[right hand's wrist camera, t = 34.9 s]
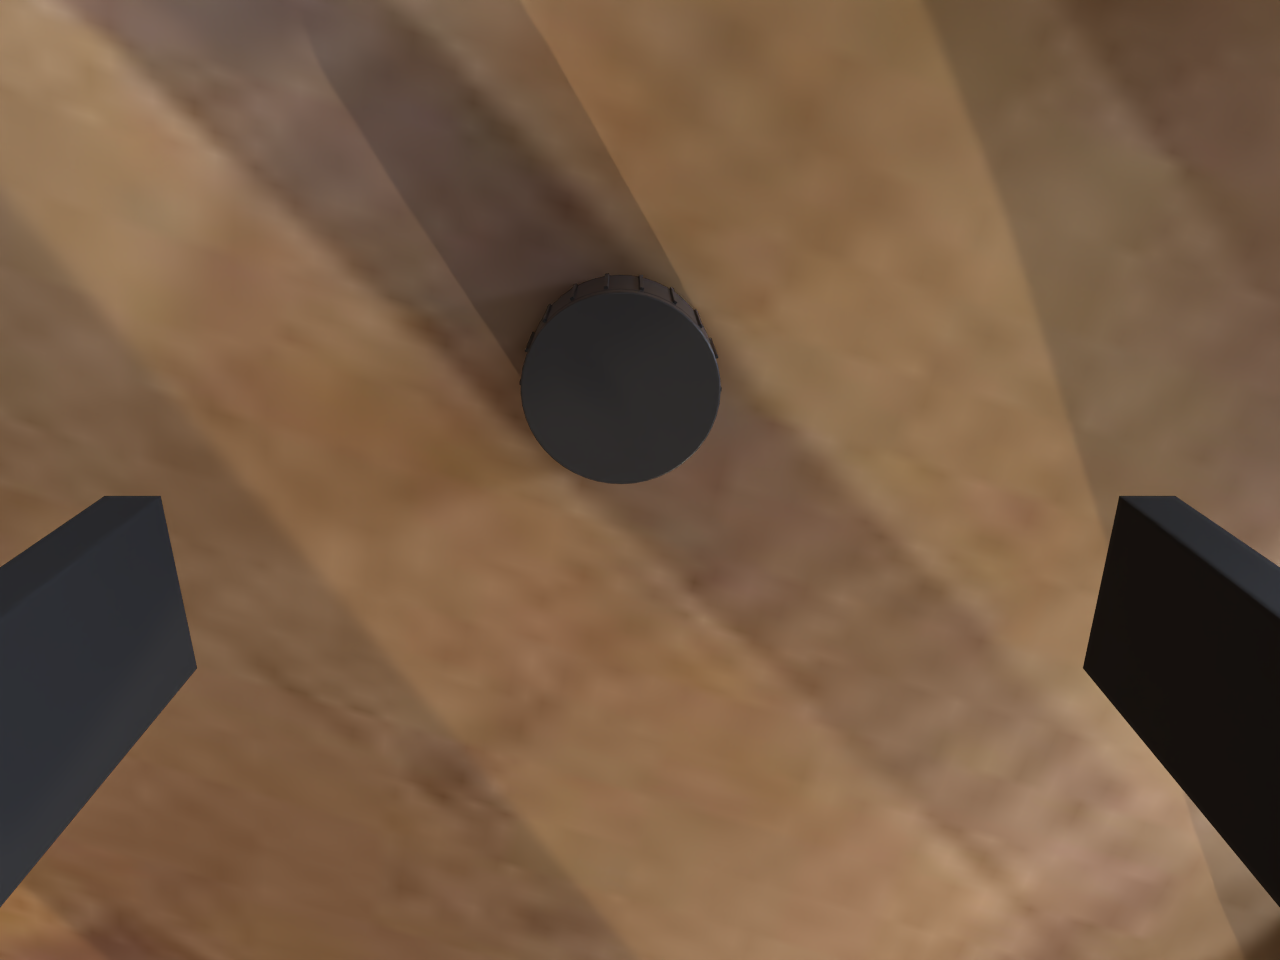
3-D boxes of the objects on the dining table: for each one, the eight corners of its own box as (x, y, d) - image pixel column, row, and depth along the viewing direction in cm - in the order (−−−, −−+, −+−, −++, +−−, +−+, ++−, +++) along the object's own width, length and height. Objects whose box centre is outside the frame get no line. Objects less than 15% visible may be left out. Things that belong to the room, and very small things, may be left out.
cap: (565, 242, 20) (559, 256, 18) (744, 316, 20) (756, 337, 19) (501, 414, 21) (490, 444, 19) (670, 477, 22) (675, 512, 20)
